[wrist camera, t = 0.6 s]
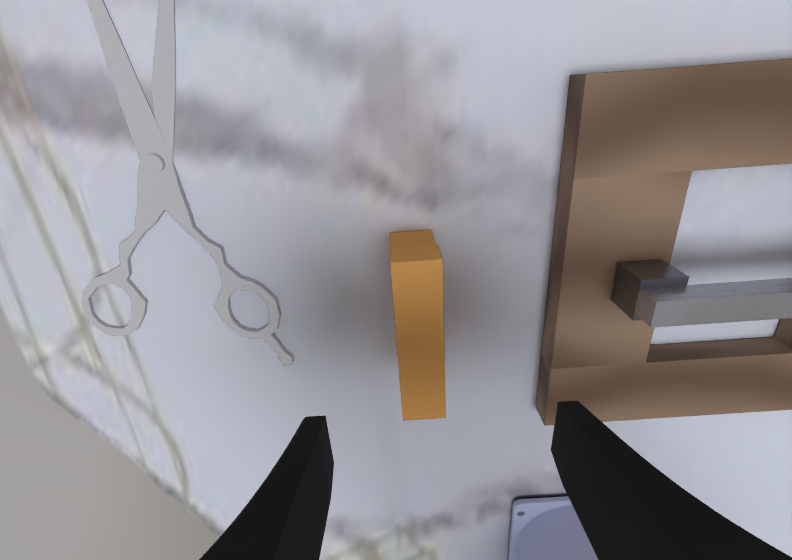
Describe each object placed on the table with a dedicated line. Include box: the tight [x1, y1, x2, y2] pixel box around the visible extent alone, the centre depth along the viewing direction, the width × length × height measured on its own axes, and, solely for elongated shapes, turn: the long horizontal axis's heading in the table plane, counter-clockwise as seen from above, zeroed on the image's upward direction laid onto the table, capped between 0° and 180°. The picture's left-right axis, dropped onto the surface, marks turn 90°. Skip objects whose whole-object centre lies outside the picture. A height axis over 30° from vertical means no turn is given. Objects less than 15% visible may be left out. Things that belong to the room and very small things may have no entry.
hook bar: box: [610, 259, 792, 327], centre depth 18 cm, size 2×13×3 cm, turn 94°
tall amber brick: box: [390, 230, 446, 421], centre depth 19 cm, size 8×2×4 cm, turn 4°
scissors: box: [81, 0, 294, 365], centre depth 18 cm, size 11×1×20 cm
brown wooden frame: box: [536, 59, 792, 425], centre depth 20 cm, size 18×18×2 cm
